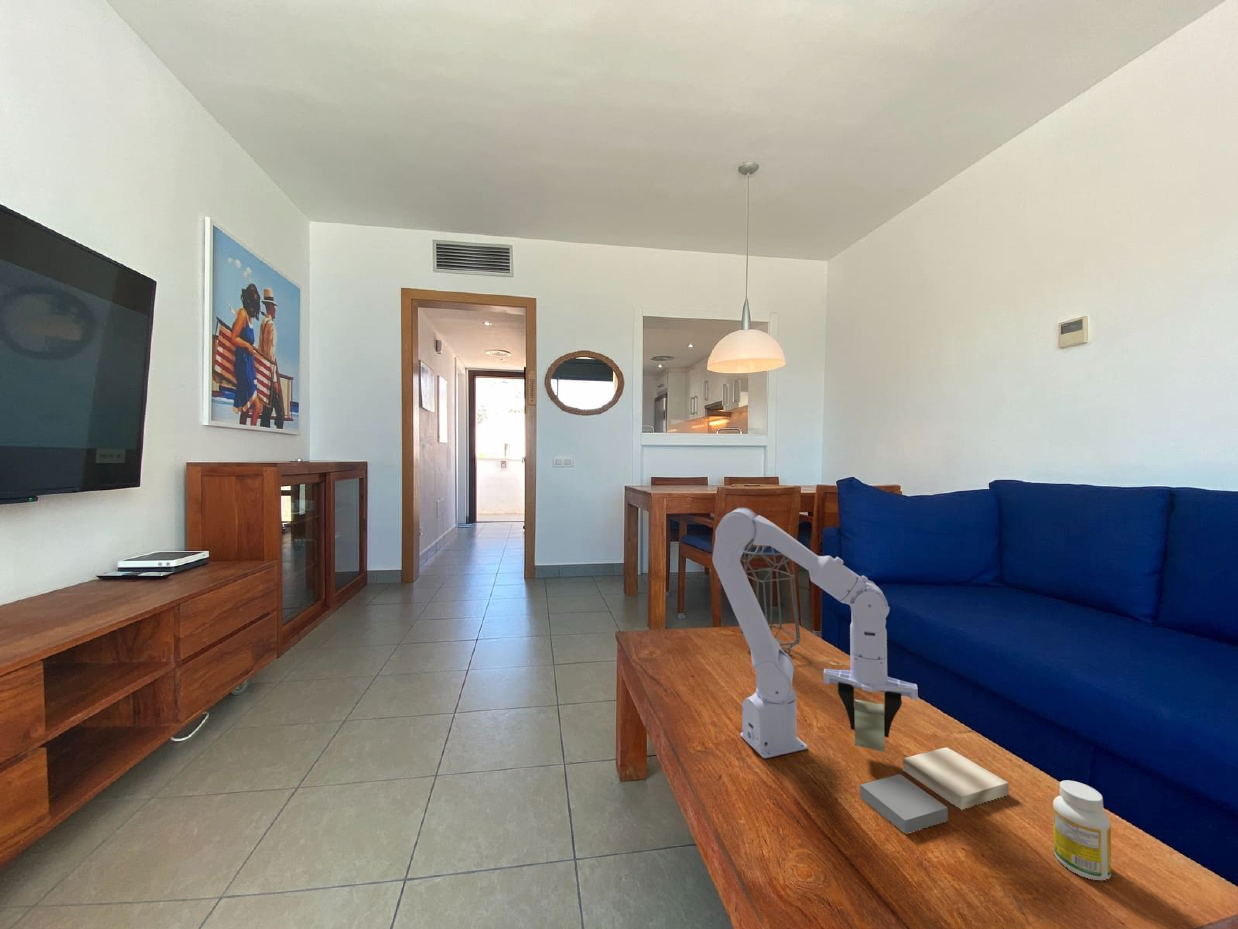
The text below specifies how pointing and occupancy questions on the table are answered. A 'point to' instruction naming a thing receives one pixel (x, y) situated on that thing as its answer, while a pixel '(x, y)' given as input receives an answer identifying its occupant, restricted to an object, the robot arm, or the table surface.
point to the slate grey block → (903, 803)
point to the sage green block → (869, 725)
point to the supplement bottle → (1082, 831)
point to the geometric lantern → (771, 589)
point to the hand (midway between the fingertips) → (869, 730)
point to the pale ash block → (955, 777)
